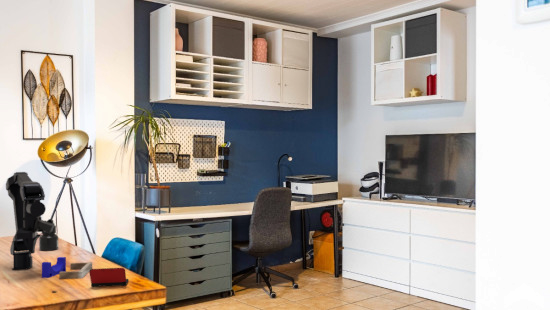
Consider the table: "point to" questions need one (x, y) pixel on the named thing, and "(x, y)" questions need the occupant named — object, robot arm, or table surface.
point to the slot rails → (76, 274)
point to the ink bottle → (48, 241)
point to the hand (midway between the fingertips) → (31, 253)
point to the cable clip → (53, 267)
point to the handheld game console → (108, 277)
